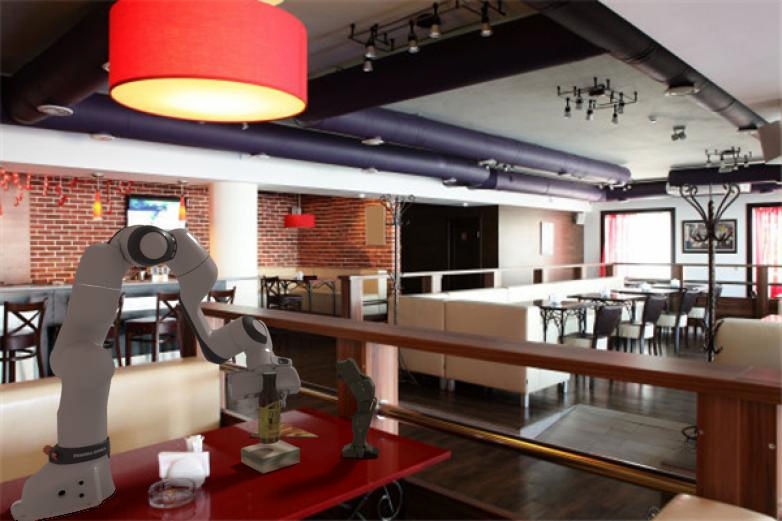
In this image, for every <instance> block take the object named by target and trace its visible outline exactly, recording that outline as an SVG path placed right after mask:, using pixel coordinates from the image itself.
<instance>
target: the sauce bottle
mask: <svg viewBox="0 0 782 521" xmlns="http://www.w3.org/2000/svg"><path fill="white" fill-rule="evenodd" d="M262 377H263V390H262V392H261V394H260V395H259V398H258V402H259V406H260V409H259V411H257V412H258V413H257V415H258V417H257V418H258V421H257V422H258V427H257V429H258V436H259V437H258V443H262V444H273V443H276V442H278V441H279V440H281V437H280V420H281V419H282V418H281V408H280V400H281V398H280V395H278V391H277V388H276V377H277V373H276V372H264V373H262Z"/></svg>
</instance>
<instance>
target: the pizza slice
mask: <svg viewBox="0 0 782 521" xmlns="http://www.w3.org/2000/svg"><path fill="white" fill-rule="evenodd" d="M251 438H259V436H258V428H257V429H255V430H254V431H253V432H252V434H251ZM280 438H319V435H316V434H315V433H314V434H313V432H309V431H307V430H304V429H302V428H299V427H296V426H294V425H292V424H289V423H287V421H286V420H285V419H284V418H281V419H280Z"/></svg>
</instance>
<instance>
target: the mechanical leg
mask: <svg viewBox="0 0 782 521" xmlns="http://www.w3.org/2000/svg"><path fill="white" fill-rule="evenodd" d="M335 368H336V369H337V370H336V371H337V372H338V373H337V375H336V376H335V378H336V379H338V380H339V381H341V382H343V383H345V384H346V385H347V387H348V388H349V390H350V392H351V393H352V395H353V396H354V397H355V400H356V401H357V402H356V408H357V411H355V412H354V413H353V414H352V416H351V429H352V434H353V438H352V439H351V443H348V444H345V445H344V446H343V448H342V450H341V454H342V458H358V459H376V458H377V459H378V458H379V456H380V452H381V451H380V449H379V447H376V446H375V447H374V446H373V445H371V444H369V443H368V441H367V436H368V433H369V431H370V427H371V424H372V420H373V416H374V413H375V410H376V407H377V404H378V403H377V402H378V398H377V397H376V385H375V383H374V381H373V379H372V377H370V376H369V375H367V374H365V373H363V372H362V371H361V368H360V367H359V366H358V364H357V362H356V360H355V358H351V357H348V358H347V359H344V360H340V359H338V360H337V361H336V363H335Z"/></svg>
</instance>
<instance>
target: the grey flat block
mask: <svg viewBox="0 0 782 521" xmlns="http://www.w3.org/2000/svg"><path fill="white" fill-rule="evenodd" d="M240 455H241V456H240V457H241V461H240V462H241V463H243V464H244V465H246V466H249V467H250V468H252V469H254V470H255V471H257V472H260V473H261V474H266V473H268V472H273V471H276V470H278V469H279V470H280V469H281V468H286V467H289V466H292V465H294V464H298V463H301V457H300V456H301V448H299V447H297V446H295V445H292V444H290V443H288V442H286V441H284V440H281V439H280V440H279V441H278V442H276V443H273V444H262V443H260V442H258V443H256V444H252V445H248V446H244V447H241V448H240Z"/></svg>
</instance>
